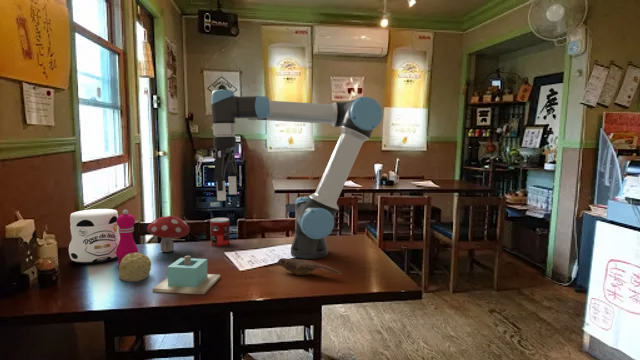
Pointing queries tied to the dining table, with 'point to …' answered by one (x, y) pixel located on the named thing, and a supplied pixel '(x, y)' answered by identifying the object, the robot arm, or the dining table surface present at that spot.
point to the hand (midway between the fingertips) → (227, 197)
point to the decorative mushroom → (168, 230)
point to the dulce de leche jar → (93, 236)
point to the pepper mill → (125, 236)
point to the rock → (134, 267)
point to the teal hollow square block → (187, 273)
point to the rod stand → (200, 289)
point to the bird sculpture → (303, 266)
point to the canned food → (219, 231)
